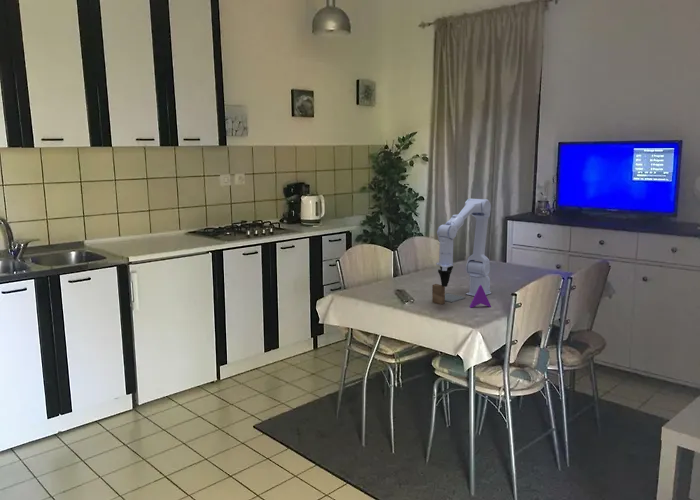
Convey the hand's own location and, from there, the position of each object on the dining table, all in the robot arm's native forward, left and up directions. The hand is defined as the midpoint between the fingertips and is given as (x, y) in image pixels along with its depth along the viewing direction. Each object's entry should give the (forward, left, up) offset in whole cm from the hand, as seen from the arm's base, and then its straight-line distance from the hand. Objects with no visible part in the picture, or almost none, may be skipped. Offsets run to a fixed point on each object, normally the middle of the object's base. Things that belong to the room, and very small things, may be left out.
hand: (445, 284), depth 250 cm
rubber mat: (-11, -7, -10) cm, 16 cm away
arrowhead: (-9, +11, -10) cm, 18 cm away
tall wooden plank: (-2, -6, -10) cm, 12 cm away
